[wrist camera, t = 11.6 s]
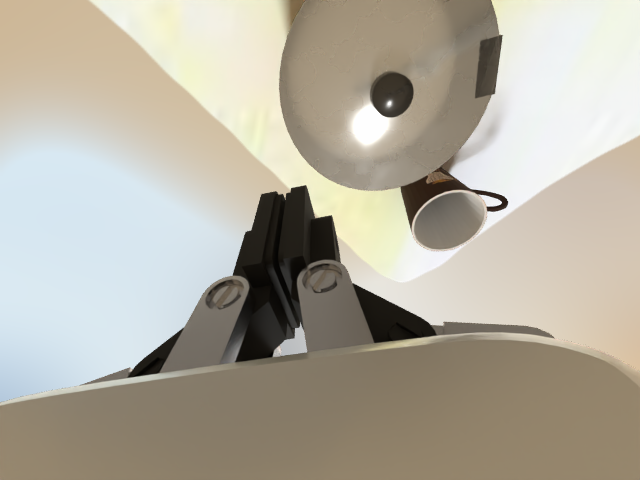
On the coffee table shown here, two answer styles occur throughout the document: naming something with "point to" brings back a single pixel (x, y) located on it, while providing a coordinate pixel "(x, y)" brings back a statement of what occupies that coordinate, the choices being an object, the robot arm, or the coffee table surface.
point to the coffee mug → (445, 211)
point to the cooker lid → (387, 85)
